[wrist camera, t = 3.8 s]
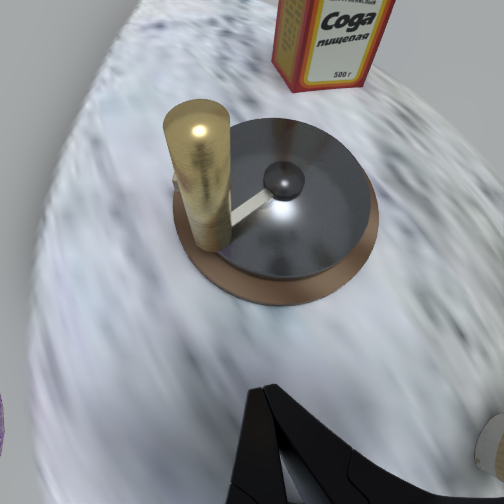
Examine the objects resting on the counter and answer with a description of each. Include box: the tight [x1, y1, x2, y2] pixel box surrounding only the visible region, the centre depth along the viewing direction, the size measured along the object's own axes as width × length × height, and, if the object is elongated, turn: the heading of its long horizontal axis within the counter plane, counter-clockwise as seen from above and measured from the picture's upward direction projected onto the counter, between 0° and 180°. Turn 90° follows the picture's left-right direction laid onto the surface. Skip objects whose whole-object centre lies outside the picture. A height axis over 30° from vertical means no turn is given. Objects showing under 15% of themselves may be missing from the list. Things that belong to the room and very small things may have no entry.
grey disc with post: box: [163, 99, 371, 281], centre depth 19 cm, size 15×14×12 cm
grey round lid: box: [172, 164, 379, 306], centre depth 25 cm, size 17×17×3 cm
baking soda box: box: [272, 0, 396, 93], centre depth 26 cm, size 10×6×16 cm
